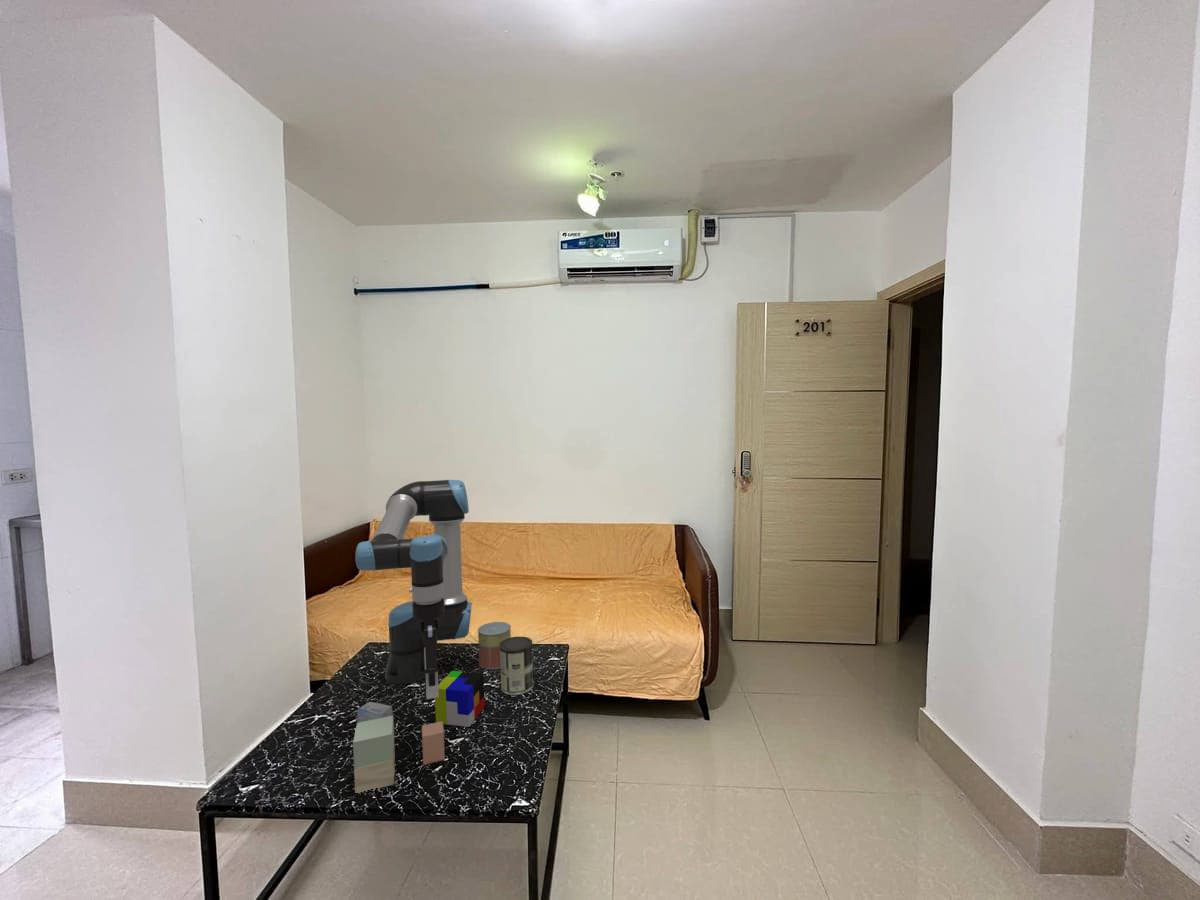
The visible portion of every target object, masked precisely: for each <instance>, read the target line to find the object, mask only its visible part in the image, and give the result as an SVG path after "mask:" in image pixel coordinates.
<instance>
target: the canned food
mask: <svg viewBox="0 0 1200 900" xmlns="http://www.w3.org/2000/svg"><path fill="white" fill-rule="evenodd" d="M511 628H512V627H511V624H509V622H505V621H492V622H488V623H485V624H482V625H480V626H479V627H478V628H477V633H478V635H477V636H478V638H477V639H478V664H479V667H480V666H481V667H480V668H482V669H484V668H486V670H498V668H499V669H501V665H500V648H499V644H500V643H501V642H502V641H503V640H505V639H507V638H511V637H512V636H511Z"/></svg>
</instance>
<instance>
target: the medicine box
mask: <svg viewBox="0 0 1200 900" xmlns="http://www.w3.org/2000/svg"><path fill="white" fill-rule="evenodd" d="M356 713H357V723H359V722H364V721H369V720H373V719H378V718H383V717H388V716H393V717H394V713H393V706H392V705H388V704H382V703H378V702H372V701H369V702H367V703H365V704H364V705H363V706H361V707H360V708H358V709H357V711H356Z"/></svg>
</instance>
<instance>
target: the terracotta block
mask: <svg viewBox="0 0 1200 900" xmlns="http://www.w3.org/2000/svg"><path fill="white" fill-rule="evenodd" d="M421 737H422V740H421V741H422V743H421V744H422V762H423V763H422V765H423V766H425V765H429V764H432V763H436V762H441V761H444V760H446V759H445V731H444V724H443V721H441V722H436V721H435V722H433V723H428V724H423V725H421Z"/></svg>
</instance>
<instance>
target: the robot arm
mask: <svg viewBox="0 0 1200 900" xmlns="http://www.w3.org/2000/svg"><path fill="white" fill-rule="evenodd" d="M469 507H470V506H469V499H468V494H467V489H466V486H465V483H464V481H462V480H459V479H443V480H441V479H440V480H421V481H414V482H411V483H408V484H406V485H403V486H402V487H401V488H399V489H397V490H396V491H394V493H393V494H391V496H389V498H388V499H387V501H386V504H385V513H384V515H383V516H382V519H381V522H380V523H379V525H378V527H377V529H376V531H375V534H374V535H373V538H372V539H371V540H367V541H361V542H359V543H358V544H357V546H356V549H355V554H354V555H355V558H354V559H355V564H356V567H357V570H360V571H362V572H363V571H365V572H366V571H367V572H368V571H370V572H371V571H372V572H375V571H383V570H395V569H408V568H410V574H411V577H410V578H411V588H409V589H408V592H409V593H411V596H412V597H411V599H412V600H411V601H406V602H404V603H402V604H399V605H397V606H395V607H394V608H392V609H391V611H389V614H388V636H389V638H388V639H389V656H388V660H387V663H386V667H385V671H384V678H385V679H384V680H385V681H386V682H387V683H389V684H392V685H408V684H412V683H416V682H419V681H422V680H423V679H425V692H426V694H425V695H426V700H431V699H435V698H436V697H439V693H438V685H439V667H438V657H437V656H438V654H437V652H438V651H437V645H438V641H447V640H453V641H454V640H457V639H462V638H465V637H467V636H468V635H469V631H470V626H471V625H470V624H471V615H472V602H471V601H468V596H467V595H466V594H465V593H463V571H462V570H463V569H462V565H463V564H462V541H461V539H462V538H461V537H462V536H461V533H462V532H461V523H462V522H463V521H464V520H465V515H466V514H468V513H469V511H470V510H469ZM420 516H428V522H430V523H431V524H432V525H433V534H428V535H422V536H417V537H415V538H405V535H406V533H407V529H408V527H409V525H410V523H411V520H413V518H415V517H420Z"/></svg>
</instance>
